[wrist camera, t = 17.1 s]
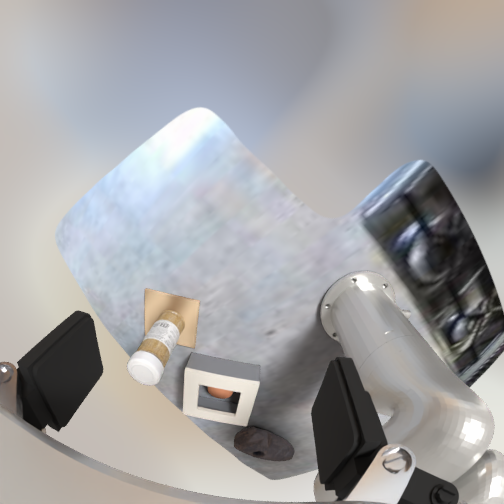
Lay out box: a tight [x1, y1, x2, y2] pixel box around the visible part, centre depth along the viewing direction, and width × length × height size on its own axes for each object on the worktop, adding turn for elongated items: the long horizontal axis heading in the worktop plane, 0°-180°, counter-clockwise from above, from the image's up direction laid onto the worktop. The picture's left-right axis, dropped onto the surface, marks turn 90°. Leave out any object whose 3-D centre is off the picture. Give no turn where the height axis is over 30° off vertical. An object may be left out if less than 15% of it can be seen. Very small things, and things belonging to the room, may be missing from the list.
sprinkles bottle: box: [127, 310, 185, 386], centre depth 35 cm, size 5×5×13 cm
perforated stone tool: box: [234, 426, 294, 461], centre depth 47 cm, size 15×5×7 cm, turn 52°
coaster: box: [145, 288, 200, 348], centre depth 42 cm, size 9×9×1 cm
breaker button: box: [208, 386, 233, 399], centre depth 45 cm, size 5×5×2 cm
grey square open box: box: [183, 352, 260, 426], centre depth 44 cm, size 12×12×5 cm
